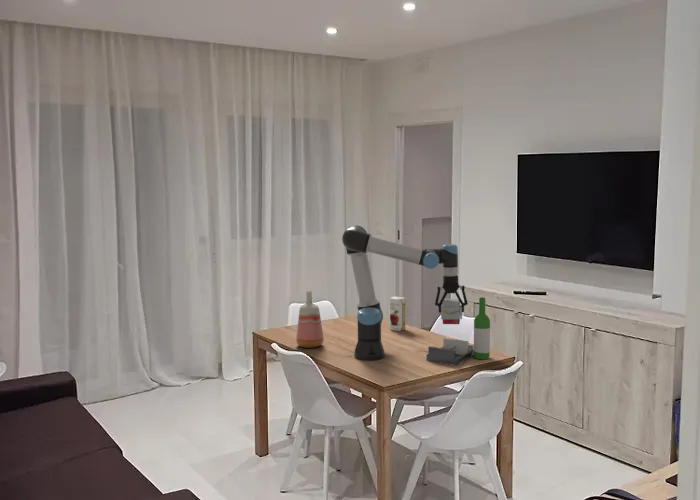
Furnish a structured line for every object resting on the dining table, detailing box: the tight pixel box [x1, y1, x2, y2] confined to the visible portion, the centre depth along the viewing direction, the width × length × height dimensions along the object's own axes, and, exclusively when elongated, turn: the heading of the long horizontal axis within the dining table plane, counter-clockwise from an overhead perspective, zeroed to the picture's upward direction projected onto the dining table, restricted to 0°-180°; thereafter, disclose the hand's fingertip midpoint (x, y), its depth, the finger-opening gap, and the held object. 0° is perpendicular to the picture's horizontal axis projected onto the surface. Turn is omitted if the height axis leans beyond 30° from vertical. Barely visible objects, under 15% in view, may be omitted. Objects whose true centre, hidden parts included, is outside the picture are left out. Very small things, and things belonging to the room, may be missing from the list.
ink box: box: [441, 298, 461, 325], centre depth 337 cm, size 9×9×12 cm
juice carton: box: [388, 295, 407, 332], centre depth 384 cm, size 8×9×19 cm
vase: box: [295, 290, 325, 349], centre depth 349 cm, size 14×14×30 cm
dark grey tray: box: [426, 344, 474, 366], centre depth 326 cm, size 16×21×7 cm
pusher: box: [442, 337, 469, 355], centre depth 328 cm, size 13×6×7 cm, turn 55°
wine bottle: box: [473, 296, 491, 361], centre depth 324 cm, size 8×8×30 cm
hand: (451, 318), depth 338 cm, fingers closed on ink box, 9 cm apart
